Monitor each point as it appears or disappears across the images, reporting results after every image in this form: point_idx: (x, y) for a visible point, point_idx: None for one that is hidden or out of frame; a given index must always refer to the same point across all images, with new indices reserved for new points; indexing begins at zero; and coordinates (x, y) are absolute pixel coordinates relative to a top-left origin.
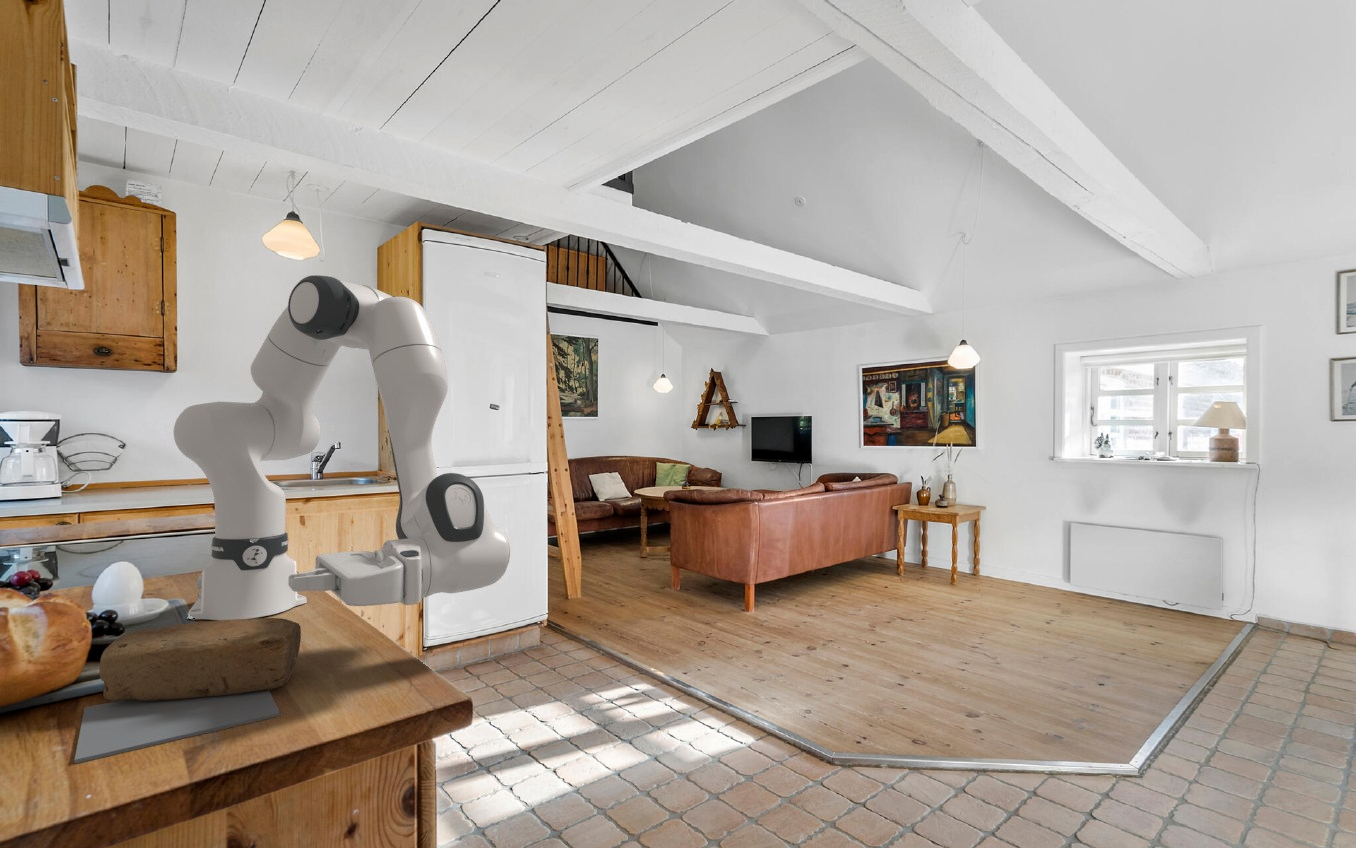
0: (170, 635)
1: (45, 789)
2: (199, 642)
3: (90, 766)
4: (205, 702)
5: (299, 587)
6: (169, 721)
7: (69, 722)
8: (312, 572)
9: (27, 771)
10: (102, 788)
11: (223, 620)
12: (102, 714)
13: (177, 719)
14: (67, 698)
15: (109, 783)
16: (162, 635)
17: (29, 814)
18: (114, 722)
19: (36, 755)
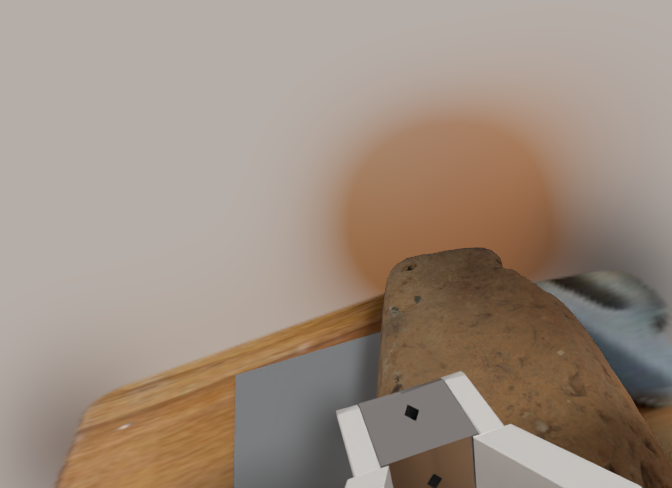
0: (446, 295)
1: (183, 381)
2: (390, 350)
3: (217, 396)
4: None
5: (352, 474)
6: (312, 433)
7: None
8: (535, 479)
9: (249, 348)
10: (133, 432)
11: (562, 336)
12: None
13: (314, 442)
14: None
15: (142, 435)
16: (450, 286)
17: (128, 392)
18: (347, 366)
19: (292, 338)
